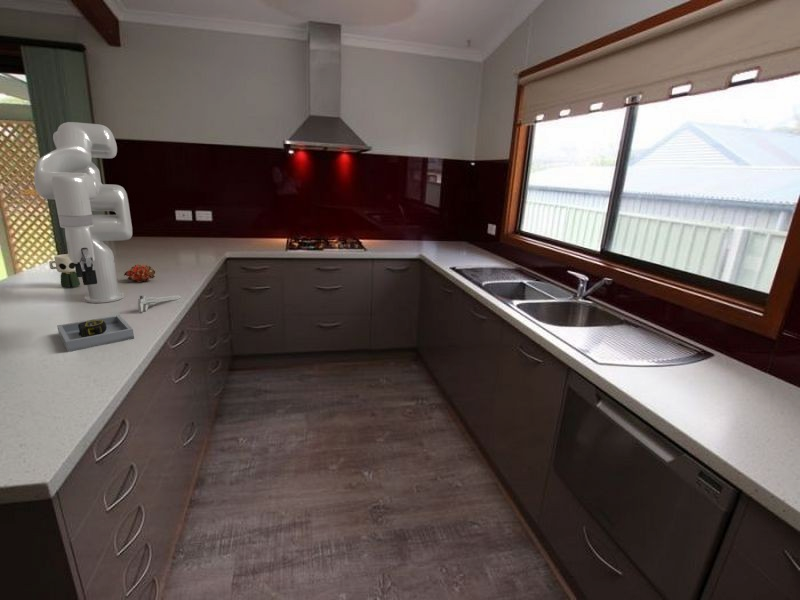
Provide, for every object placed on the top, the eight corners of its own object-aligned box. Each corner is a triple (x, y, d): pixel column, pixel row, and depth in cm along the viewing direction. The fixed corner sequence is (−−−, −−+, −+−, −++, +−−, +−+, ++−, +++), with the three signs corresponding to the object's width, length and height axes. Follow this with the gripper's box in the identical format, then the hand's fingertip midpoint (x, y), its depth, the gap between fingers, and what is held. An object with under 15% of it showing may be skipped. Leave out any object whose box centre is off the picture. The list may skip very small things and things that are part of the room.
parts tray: (59, 334, 126) (57, 325, 125) (120, 323, 137) (119, 314, 136) (67, 352, 115) (65, 341, 114) (134, 338, 126) (132, 329, 125)
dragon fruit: (158, 284, 187) (128, 289, 183) (158, 270, 191) (128, 275, 188) (152, 272, 180) (121, 277, 176) (151, 258, 184) (121, 262, 181)
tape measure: (79, 332, 126) (77, 321, 125) (106, 328, 130) (104, 317, 129) (79, 340, 121) (77, 328, 120) (108, 336, 125) (106, 324, 124)
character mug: (54, 290, 166) (48, 258, 162) (53, 286, 171) (47, 255, 168) (88, 287, 173) (82, 256, 169) (86, 283, 178) (81, 253, 174)
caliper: (141, 314, 147) (139, 296, 145) (139, 313, 147) (136, 296, 145) (182, 298, 166) (180, 282, 165) (179, 297, 167) (178, 282, 165)
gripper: (54, 217, 119) (65, 275, 125) (64, 226, 108) (76, 289, 113) (86, 216, 124) (96, 272, 130) (99, 225, 113) (109, 285, 118)
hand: (87, 280), depth 121 cm, fingers open, 9 cm apart
